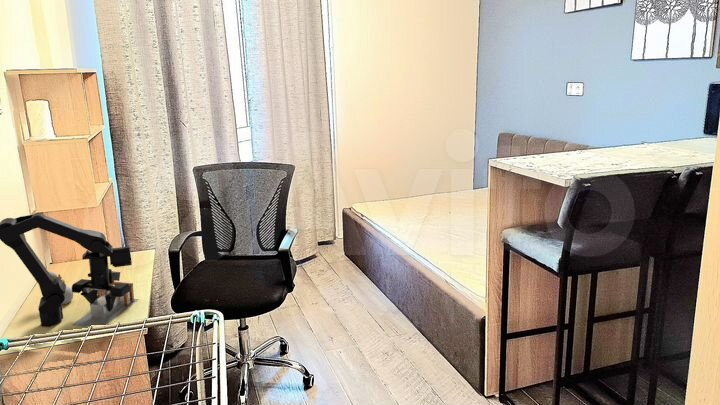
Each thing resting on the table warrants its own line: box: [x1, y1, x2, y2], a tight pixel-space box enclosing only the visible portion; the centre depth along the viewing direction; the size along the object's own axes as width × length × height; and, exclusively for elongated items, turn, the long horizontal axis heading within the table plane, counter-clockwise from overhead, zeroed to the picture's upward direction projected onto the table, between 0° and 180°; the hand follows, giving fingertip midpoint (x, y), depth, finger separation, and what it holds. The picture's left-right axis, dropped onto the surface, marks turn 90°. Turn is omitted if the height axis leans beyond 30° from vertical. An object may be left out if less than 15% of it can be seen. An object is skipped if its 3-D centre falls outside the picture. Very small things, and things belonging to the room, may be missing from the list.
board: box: [71, 298, 140, 328], centre depth 181 cm, size 22×11×1 cm, turn 172°
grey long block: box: [89, 292, 130, 319], centre depth 182 cm, size 15×5×5 cm, turn 172°
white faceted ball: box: [48, 271, 74, 306], centre depth 185 cm, size 8×10×12 cm
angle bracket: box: [110, 281, 135, 302], centre depth 188 cm, size 1×9×7 cm, turn 82°
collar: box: [103, 285, 129, 306], centre depth 185 cm, size 1×9×7 cm, turn 82°
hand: (103, 310), depth 179 cm, fingers closed on grey long block, 5 cm apart
